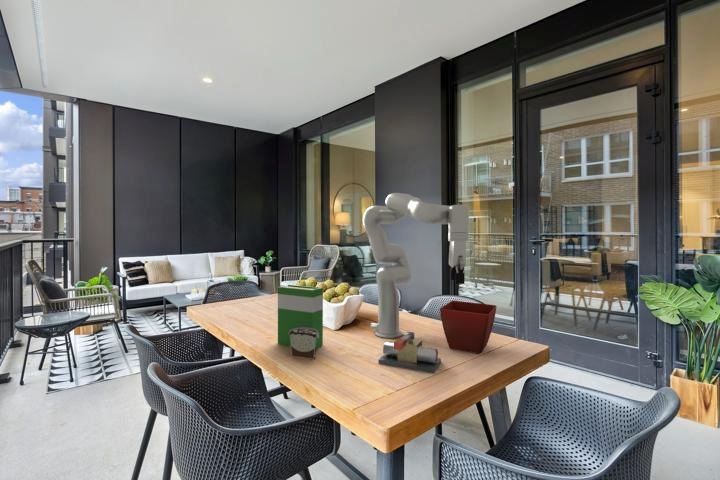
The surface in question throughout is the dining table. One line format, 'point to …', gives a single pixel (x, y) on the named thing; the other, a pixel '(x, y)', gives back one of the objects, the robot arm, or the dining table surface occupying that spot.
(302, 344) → the food container
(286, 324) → the green cereal box
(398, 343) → the valve lever
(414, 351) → the valve body
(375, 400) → the dining table surface
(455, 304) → the plant pot
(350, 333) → the dining table surface
